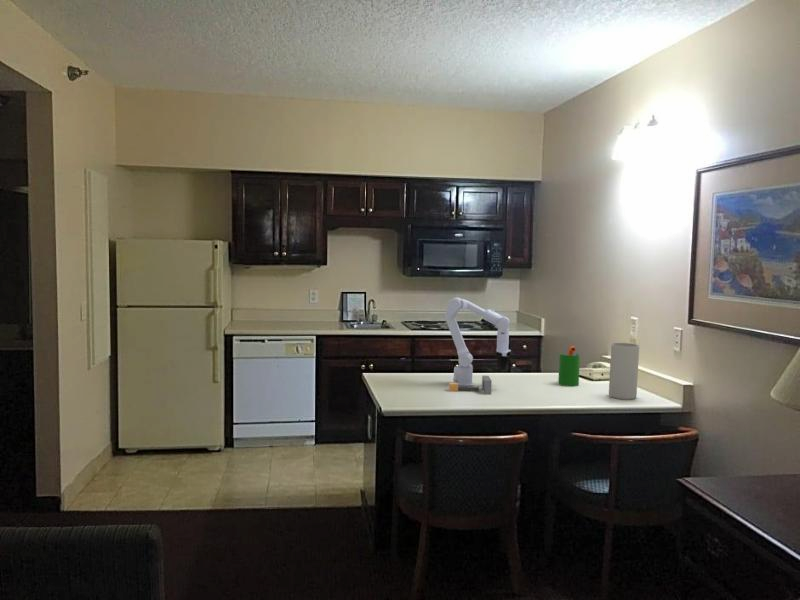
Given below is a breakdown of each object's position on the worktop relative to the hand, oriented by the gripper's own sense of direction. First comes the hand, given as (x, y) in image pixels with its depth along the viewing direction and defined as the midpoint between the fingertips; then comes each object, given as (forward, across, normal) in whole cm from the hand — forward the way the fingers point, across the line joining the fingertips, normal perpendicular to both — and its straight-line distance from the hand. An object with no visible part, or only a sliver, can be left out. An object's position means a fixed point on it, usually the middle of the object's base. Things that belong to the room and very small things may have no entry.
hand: (501, 368), depth 326 cm
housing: (+9, -11, +8) cm, 17 cm away
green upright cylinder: (+10, +10, -36) cm, 39 cm away
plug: (+10, -11, +19) cm, 24 cm away
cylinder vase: (+10, -14, -56) cm, 58 cm away
